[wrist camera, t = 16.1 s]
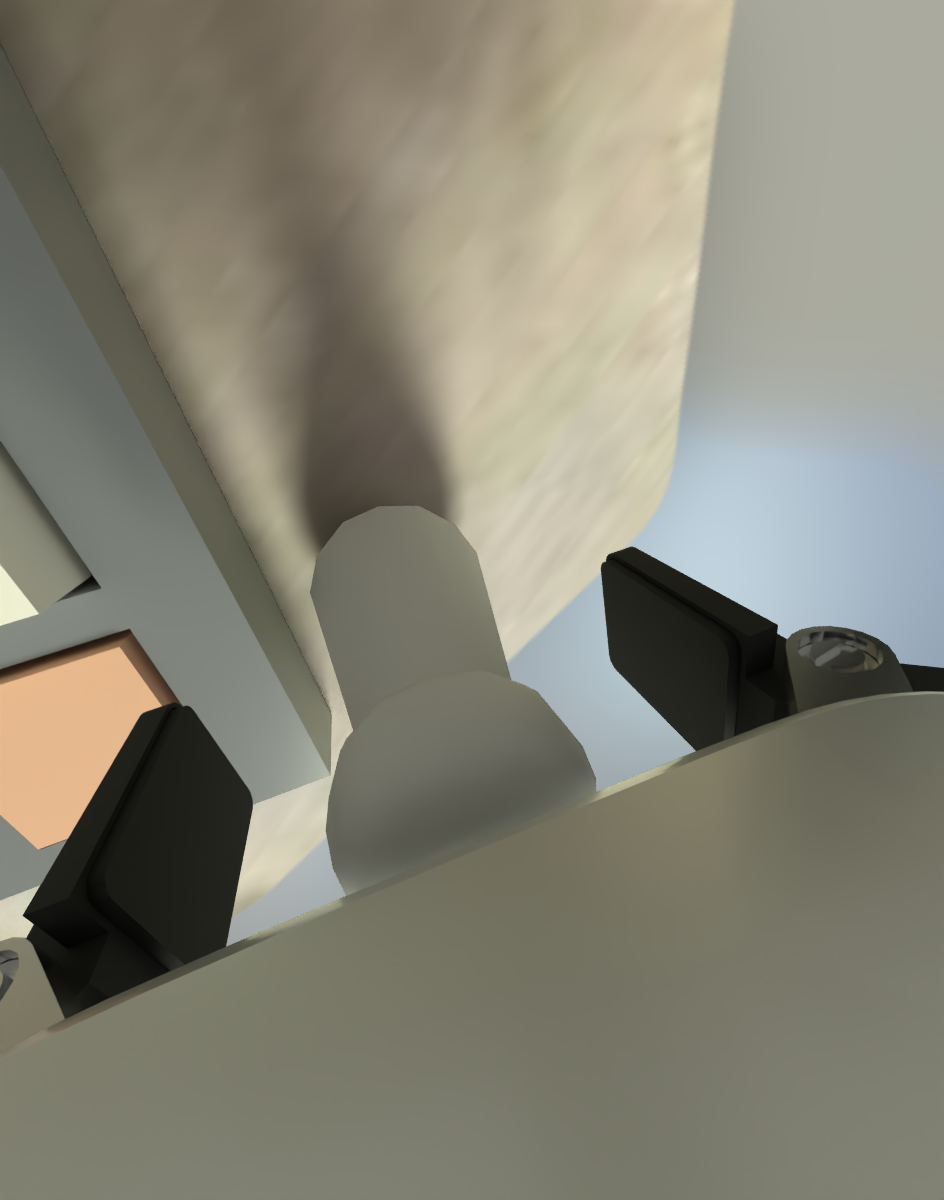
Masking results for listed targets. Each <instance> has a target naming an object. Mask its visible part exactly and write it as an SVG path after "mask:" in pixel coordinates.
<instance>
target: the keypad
mask: <svg viewBox="0 0 944 1200" xmlns="http://www.w3.org/2000/svg"><path fill="white" fill-rule="evenodd" d="M0 441H1V442H2V444H3V445H4V447H5V448H6V450H7V451H8V453H9V454H10V455H11V457H12V458H13V460H14V461H15V463H16V464H17V466H18V467H19V469H20V470H21V471H22V473H23V474H24V476H25V477H26V479H27V480H28V482H29V483H30V485H31V486H32V487H33V489H34V490H35V492H36V493H37V495H38V496H39V498H40V499H41V501H42V502H43V503H44V505H45V506H46V508H47V509H48V511H49V512H50V514H51V515H52V517H53V518H54V519H55V521H56V522H57V524H58V525H59V527H60V528H61V530H62V531H63V533H64V534H65V535H66V537H67V538H68V540H69V541H70V543H71V544H72V546H73V547H74V549H75V550H76V551H77V553H78V554H79V556H80V557H81V559H82V560H83V562H84V563H85V565H86V566H87V567H88V569H89V570H90V572H91V573H92V576H91V577H89V578H88V579H87V580H85V581H84V582H83V583H81V584H80V585H78V586H77V587H76V588H74V589H73V590H72V591H70V592H69V593H67V594H66V595H65V596H63V597H62V598H61V599H59V600H58V601H56V602H55V603H54V604H52V605H51V606H50V607H48V608H47V609H45V610H44V611H43V612H41V613H40V614H38V615H34V616H31V617H28V618H24V619H21V620H18V621H14V622H11V623H8V624H5V625H1V626H0V669H3V668H6V667H9V666H13V665H16V664H19V663H22V662H25V661H28V660H32V659H35V658H38V657H41V656H44V655H48V654H51V653H54V652H57V651H60V650H63V649H67V648H70V647H73V646H76V645H79V644H82V643H86V642H89V641H92V640H95V639H98V638H101V637H105V636H108V635H111V634H114V633H117V632H121V631H124V630H127V629H130V630H131V631H132V633H133V634H134V636H135V637H136V639H137V640H138V642H139V643H140V645H141V646H142V647H143V649H144V650H145V652H146V653H147V655H148V656H149V658H150V659H151V661H152V662H153V663H154V665H155V666H156V668H157V669H158V671H159V672H160V674H161V675H162V677H163V678H164V679H165V681H166V682H167V684H168V685H169V687H170V688H171V690H172V691H173V693H174V694H175V695H176V697H177V698H178V700H179V701H180V703H181V704H182V706H190V707H191V708H192V709H193V710H194V711H195V713H196V714H197V716H198V717H199V718H200V720H201V721H202V723H203V724H204V726H205V727H206V729H207V730H208V731H209V733H210V734H211V736H212V737H213V739H214V740H215V741H216V743H217V744H218V746H219V747H220V749H221V750H222V751H223V753H224V754H225V756H226V757H227V759H228V760H229V761H230V763H231V764H232V766H233V767H234V769H235V770H236V771H237V773H238V774H239V776H240V777H241V779H242V780H243V782H244V783H245V784H246V786H247V787H248V789H249V790H250V792H251V795H252V800H253V804H256V803H258V802H261V801H264V800H266V799H269V798H272V797H274V796H277V795H280V794H282V793H285V792H287V791H290V790H293V789H295V788H298V787H301V786H303V785H306V784H309V783H311V782H314V781H317V780H319V779H322V778H324V777H327V776H330V772H331V724H332V714H331V712H330V710H329V708H328V706H327V704H326V702H325V700H324V698H323V696H322V694H321V692H320V690H319V688H318V686H317V684H316V682H315V680H314V678H313V676H312V674H311V672H310V670H309V668H308V666H307V664H306V662H305V659H304V657H303V655H302V653H301V651H300V649H299V647H298V645H297V643H296V641H295V639H294V637H293V635H292V633H291V631H290V629H289V627H288V625H287V623H286V621H285V619H284V617H283V615H282V613H281V611H280V609H279V607H278V605H277V603H276V601H275V599H274V597H273V595H272V593H271V591H270V589H269V587H268V585H267V583H266V581H265V579H264V577H263V575H262V573H261V571H260V569H259V567H258V564H257V562H256V560H255V558H254V556H253V554H252V552H251V550H250V548H249V546H248V544H247V542H246V540H245V538H244V536H243V534H242V532H241V530H240V528H239V526H238V524H237V522H236V520H235V518H234V516H233V514H232V512H231V510H230V508H229V506H228V504H227V502H226V500H225V498H224V496H223V494H222V492H221V490H220V488H219V486H218V484H217V482H216V480H215V478H214V476H213V474H212V471H211V469H210V467H209V465H208V463H207V461H206V459H205V457H204V455H203V453H202V451H201V449H200V447H199V445H198V443H197V441H196V439H195V437H194V435H193V433H192V431H191V429H190V427H189V425H188V423H187V421H186V419H185V417H184V415H183V413H182V411H181V409H180V407H179V405H178V403H177V401H176V399H175V397H174V395H173V393H172V391H171V389H170V387H169V385H168V383H167V381H166V378H165V376H164V374H163V372H162V370H161V368H160V366H159V364H158V362H157V360H156V358H155V356H154V354H153V352H152V350H151V348H150V346H149V344H148V342H147V340H146V338H145V336H144V334H143V332H142V330H141V328H140V326H139V324H138V322H137V320H136V318H135V316H134V314H133V312H132V310H131V308H130V306H129V304H128V302H127V300H126V298H125V296H124V294H123V292H122V290H121V288H120V285H119V283H118V281H117V279H116V277H115V275H114V273H113V271H112V269H111V267H110V265H109V263H108V261H107V259H106V257H105V255H104V253H103V251H102V249H101V247H100V245H99V243H98V241H97V239H96V237H95V235H94V233H93V231H92V229H91V227H90V225H89V223H88V221H87V219H86V217H85V215H84V213H83V211H82V209H81V207H80V205H79V203H78V201H77V199H76V197H75V195H74V192H73V190H72V188H71V186H70V184H69V182H68V180H67V178H66V176H65V174H64V172H63V170H62V168H61V166H60V164H59V162H58V160H57V158H56V156H55V154H54V152H53V150H52V148H51V146H50V144H49V142H48V140H47V138H46V136H45V134H44V132H43V130H42V128H41V126H40V124H39V122H38V120H37V118H36V116H35V114H34V112H33V110H32V108H31V106H30V104H29V102H28V99H27V97H26V95H25V93H24V91H23V89H22V87H21V85H20V83H19V81H18V79H17V77H16V75H15V73H14V71H13V69H12V67H11V65H10V63H9V61H8V59H7V57H6V55H5V53H4V51H3V49H2V47H1V45H0ZM66 841H67V839H65V840H63V841H60V842H57V843H54V844H52V845H49V846H46V847H44V848H41V849H37V848H36V847H35V846H34V845H33V844H32V843H30V842H29V841H28V840H27V839H26V838H25V837H24V836H23V835H22V834H21V833H20V832H18V831H17V830H16V829H15V828H14V827H13V826H12V825H11V824H10V823H9V822H8V821H6V820H5V819H4V818H3V817H2V816H1V815H0V900H2V899H5V898H7V897H10V896H13V895H15V894H18V893H21V892H23V891H26V890H29V889H31V888H34V887H37V886H39V885H41V884H42V882H43V880H44V878H45V877H46V875H47V873H48V872H49V870H50V868H51V867H52V865H53V863H54V861H55V860H56V858H57V856H58V855H59V853H60V851H61V850H62V848H63V846H64V844H65V843H66Z"/></svg>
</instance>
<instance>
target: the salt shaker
mask: <svg viewBox="0 0 944 1200" xmlns="http://www.w3.org/2000/svg"><path fill="white" fill-rule="evenodd" d="M310 594H311V597H312V600H313V603H314V606H315V610H316V613H317V616H318V619H319V622H320V626H321V629H322V632H323V635H324V638H325V642H326V645H327V648H328V651H329V654H330V658H331V661H332V664H333V667H334V670H335V674H336V677H337V680H338V683H339V686H340V689H341V693H342V696H343V699H344V702H345V705H346V709H347V712H348V715H349V718H350V721H351V725H352V728H353V732H352V733H351V734H350V735H349V737H348V738H347V739H346V741H345V743H344V745H343V747H342V749H341V751H340V754H339V758H338V762H337V766H336V770H335V775H334V779H333V783H332V787H331V791H330V795H329V802H328V813H327V823H326V834H327V839H328V844H329V850H330V855H331V860H332V866H333V869H334V872H335V873H336V876H337V878H338V880H339V882H340V884H341V886H342V888H343V890H344V892H345V894H346V896H348V895H350V894H352V893H355V892H357V891H359V890H362V889H364V888H366V887H369V886H371V885H374V884H376V883H378V882H381V881H383V880H385V879H388V878H390V877H393V876H395V875H397V874H400V873H402V872H405V871H407V870H409V869H412V868H414V867H417V866H419V865H421V864H424V863H426V862H429V861H431V860H433V859H436V858H438V857H441V856H443V855H445V854H448V853H450V852H453V851H455V850H457V849H460V848H462V847H465V846H467V845H469V844H472V843H474V842H477V841H479V840H481V839H484V838H486V837H489V836H491V835H493V834H496V833H498V832H501V831H503V830H505V829H508V828H510V827H513V826H515V825H517V824H520V823H522V822H525V821H527V820H530V819H532V818H534V817H537V816H539V815H542V814H544V813H546V812H549V811H551V810H554V809H556V808H558V807H561V806H563V805H566V804H568V803H571V802H573V801H576V800H578V799H580V798H583V797H585V796H588V795H590V794H593V793H595V792H596V777H595V775H594V773H593V770H592V768H591V765H590V763H589V761H588V758H587V756H586V753H585V751H584V749H583V746H582V745H581V744H580V743H579V741H578V740H577V739H576V738H575V736H574V735H573V734H572V733H571V732H570V731H569V729H568V728H567V727H566V725H565V724H564V723H563V722H562V720H561V719H560V718H559V717H558V716H557V715H556V713H555V712H554V711H553V710H552V709H551V707H550V706H549V705H548V704H547V703H546V701H545V700H544V699H543V698H542V697H541V695H540V694H539V693H538V692H537V691H535V690H533V689H531V688H529V687H527V686H526V685H523V684H520V683H517V682H514V681H511V678H510V674H509V670H508V666H507V663H506V659H505V655H504V652H503V648H502V644H501V641H500V637H499V633H498V630H497V626H496V622H495V619H494V615H493V611H492V608H491V604H490V600H489V597H488V593H487V589H486V586H485V582H484V578H483V575H482V571H481V567H480V564H479V560H478V556H477V553H476V551H475V550H474V549H473V547H472V546H471V545H470V544H469V542H468V541H467V540H466V538H465V537H464V536H463V535H462V533H461V532H460V531H459V530H458V528H457V527H456V526H455V524H453V523H451V522H449V521H447V520H445V519H443V518H441V517H439V516H438V515H436V514H434V513H432V512H430V511H428V510H426V509H424V508H422V507H420V506H378V507H376V508H373V509H371V510H369V511H367V512H364V513H362V514H360V515H358V516H355V517H353V518H351V519H349V520H346V521H344V522H343V523H342V524H341V525H340V527H339V528H338V529H337V531H336V532H335V533H334V534H333V536H332V537H331V538H330V540H329V541H328V542H327V544H326V545H325V546H324V547H323V549H322V550H321V551H320V553H319V554H318V555H317V559H316V564H315V569H314V575H313V580H312V585H311V591H310Z"/></svg>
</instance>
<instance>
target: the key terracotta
mask: <svg viewBox="0 0 944 1200" xmlns="http://www.w3.org/2000/svg"><path fill="white" fill-rule="evenodd" d="M173 702H175V703H178V704H180V705H181V706H182V704H181V703H180V701H179V700H178V698H177V697H176V695H175V694H174V693H173V691H172V690H171V688H170V687H169V685H168V684H167V682H166V681H165V679H164V678H163V677H162V675H161V674H160V672H159V671H158V669H157V668H156V666H155V665H154V663H153V662H152V661H151V659H150V658H149V656H148V655H147V653H146V652H145V650H144V649H143V647H142V646H141V645H140V643H139V642H138V640H137V639H136V637H135V636H134V634H133V633H132V631H131V630H130V629H127V630H124V631H121V632H117V633H114V634H111V635H108V636H105V637H101V638H98V639H95V640H92V641H89V642H86V643H82V644H79V645H76V646H73V647H70V648H67V649H63V650H60V651H57V652H54V653H51V654H48V655H44V656H41V657H38V658H35V659H32V660H28V661H25V662H22V663H19V664H16V665H13V666H9V667H6V668H3V669H0V815H1V816H2V817H3V818H4V819H5V820H6V821H8V822H9V823H10V824H11V825H12V826H13V827H14V828H15V829H16V830H17V831H18V832H20V833H21V834H22V835H23V836H24V837H25V838H26V839H27V840H28V841H29V842H30V843H32V844H33V845H34V846H35V847H36V848H37V849H41V848H44V847H46V846H49V845H52V844H54V843H57V842H60V841H63V840H65V839H68V838H69V836H70V834H71V832H72V831H73V829H74V827H75V826H76V824H77V822H78V821H79V819H80V817H81V815H82V814H83V812H84V810H85V809H86V807H87V805H88V804H89V802H90V800H91V798H92V797H93V795H94V793H95V792H96V790H97V788H98V786H99V785H100V783H101V781H102V780H103V778H104V776H105V775H106V773H107V771H108V769H109V768H110V766H111V764H112V763H113V761H114V759H115V758H116V756H117V754H118V752H119V751H120V749H121V747H122V746H123V744H124V742H125V740H126V739H127V737H128V735H129V734H130V732H131V730H132V729H133V727H134V725H135V723H136V722H137V720H138V718H139V717H140V715H141V714H142V713H144V712H146V711H149V710H152V709H155V708H158V707H161V706H164V705H167V704H170V703H173ZM182 707H183V706H182Z"/></svg>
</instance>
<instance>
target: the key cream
mask: <svg viewBox="0 0 944 1200" xmlns="http://www.w3.org/2000/svg"><path fill="white" fill-rule="evenodd" d="M91 576H92V573H91V572H90V570H89V569H88V567H87V566H86V565H85V563H84V562H83V560H82V559H81V557H80V556H79V554H78V553H77V551H76V550H75V549H74V547H73V546H72V544H71V543H70V541H69V540H68V538H67V537H66V535H65V534H64V533H63V531H62V530H61V528H60V527H59V525H58V524H57V522H56V521H55V519H54V518H53V517H52V515H51V514H50V512H49V511H48V509H47V508H46V506H45V505H44V503H43V502H42V501H41V499H40V498H39V496H38V495H37V493H36V492H35V490H34V489H33V487H32V486H31V485H30V483H29V482H28V480H27V479H26V477H25V476H24V474H23V473H22V471H21V470H20V469H19V467H18V466H17V464H16V463H15V461H14V460H13V458H12V457H11V455H10V454H9V453H8V451H7V450H6V448H5V447H4V445H3V444H2V442H1V441H0V626H1V625H5V624H8V623H11V622H14V621H18V620H21V619H24V618H28V617H31V616H34V615H38V614H40V613H41V612H43V611H44V610H45V609H47V608H48V607H50V606H51V605H52V604H54V603H55V602H56V601H58V600H59V599H61V598H62V597H63V596H65V595H66V594H67V593H69V592H70V591H72V590H73V589H74V588H76V587H77V586H78V585H80V584H81V583H83V582H84V581H85V580H87V579H88V578H89V577H91Z"/></svg>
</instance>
